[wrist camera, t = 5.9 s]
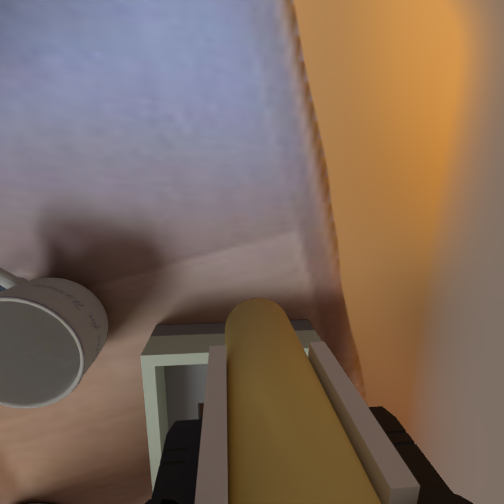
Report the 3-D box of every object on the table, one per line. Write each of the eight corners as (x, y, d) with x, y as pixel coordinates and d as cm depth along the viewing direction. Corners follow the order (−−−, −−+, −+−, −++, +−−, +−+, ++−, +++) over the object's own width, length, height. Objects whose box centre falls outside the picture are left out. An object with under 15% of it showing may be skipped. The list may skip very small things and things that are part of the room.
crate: (156, 325, 31) (140, 355, 26) (308, 319, 33) (326, 347, 27) (167, 482, 36) (156, 538, 31) (298, 470, 38) (312, 521, 32)
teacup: (135, 338, 32) (105, 387, 24) (46, 371, 31) (-13, 431, 24) (77, 226, 28) (21, 240, 20) (-23, 262, 28) (-118, 290, 20)
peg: (224, 298, 16) (225, 572, 5) (290, 297, 17) (444, 545, 5) (225, 358, 17) (227, 715, 5) (287, 355, 18) (413, 682, 6)
